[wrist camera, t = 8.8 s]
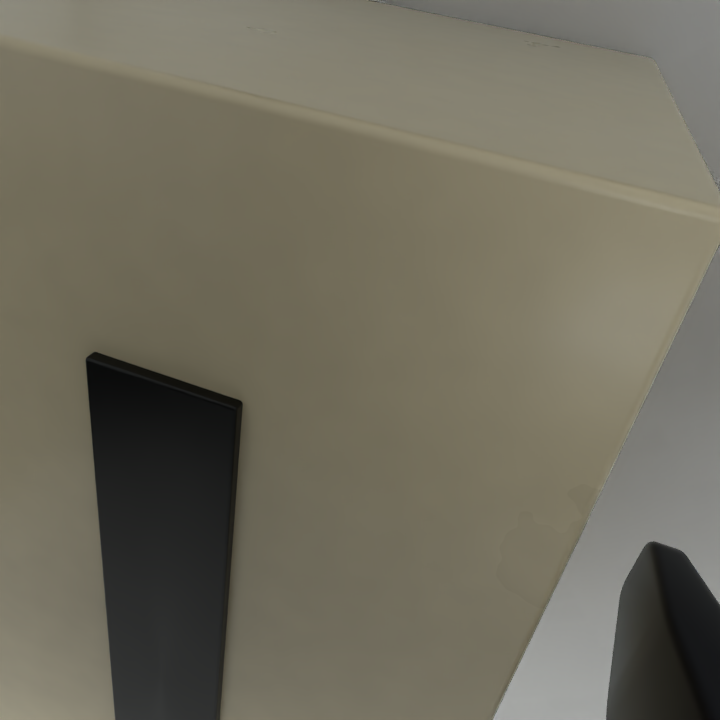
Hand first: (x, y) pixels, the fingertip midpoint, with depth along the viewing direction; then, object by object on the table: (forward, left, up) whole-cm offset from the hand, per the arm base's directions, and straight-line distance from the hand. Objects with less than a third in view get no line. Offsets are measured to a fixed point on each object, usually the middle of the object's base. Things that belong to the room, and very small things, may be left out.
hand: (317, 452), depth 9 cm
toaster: (0, 0, -4) cm, 4 cm away
